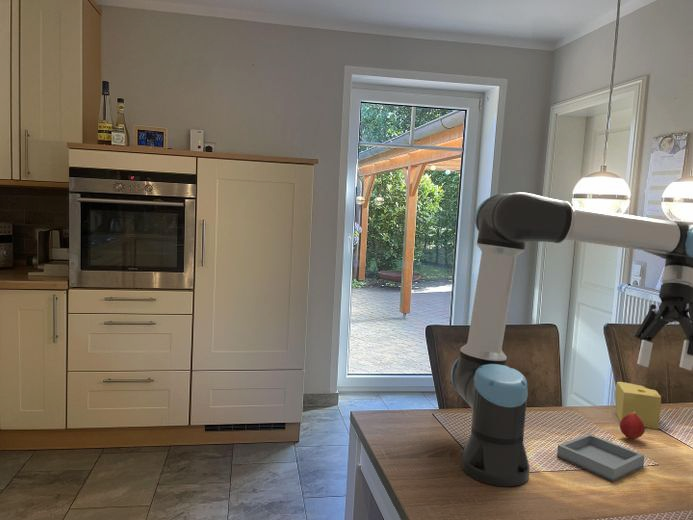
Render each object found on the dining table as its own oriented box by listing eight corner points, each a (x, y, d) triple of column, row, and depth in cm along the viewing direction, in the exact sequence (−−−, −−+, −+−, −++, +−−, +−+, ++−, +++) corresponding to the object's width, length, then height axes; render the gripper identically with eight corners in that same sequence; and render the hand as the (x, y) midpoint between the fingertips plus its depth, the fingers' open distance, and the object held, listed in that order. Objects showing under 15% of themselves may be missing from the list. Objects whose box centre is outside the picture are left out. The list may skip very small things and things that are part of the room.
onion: (620, 442, 136) (622, 413, 136) (617, 434, 142) (620, 406, 141) (644, 446, 134) (647, 417, 133) (641, 438, 139) (644, 410, 139)
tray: (613, 482, 115) (614, 469, 114) (557, 456, 126) (557, 445, 126) (643, 467, 122) (644, 455, 122) (587, 444, 134) (588, 433, 134)
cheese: (650, 417, 155) (654, 385, 155) (659, 431, 145) (663, 397, 144) (613, 411, 159) (615, 380, 158) (619, 424, 149) (622, 391, 148)
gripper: (735, 286, 118) (720, 375, 113) (654, 295, 142) (639, 368, 138) (708, 275, 117) (691, 364, 113) (630, 286, 141) (615, 360, 137)
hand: (662, 367), depth 125 cm, fingers open, 13 cm apart
